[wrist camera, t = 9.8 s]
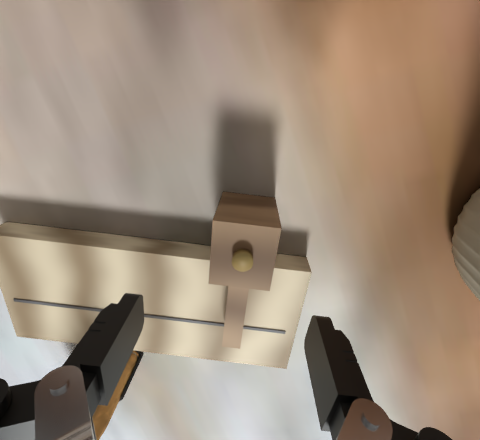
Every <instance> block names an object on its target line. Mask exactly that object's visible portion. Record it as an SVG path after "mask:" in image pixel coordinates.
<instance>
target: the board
mask: <svg viewBox="0 0 480 440" xmlns="http://www.w3.org/2000/svg"><path fill="white" fill-rule="evenodd" d="M210 253H211V246H208V245H199V244H191V243H182V242H174V241H165V240H157V239H148V238H140V237H131V236H123V235H114V234H106V233H97V232H89V231H81V230H72V229H64V228H55V227H47V226H38V225H30V224H21V223H13V222H5V223H3V224H1V225H0V287H1V290H2V293H3V296H4V299H5V302H6V305H7V308H8V311H9V314H10V317H11V320H12V323H13V326H14V329H15V332H16V335H17V336H18V337H27V338H35V339H43V340H52V341H60V342H68V343H77V344H78V343H79V342H80V340H81V339H82V337H83V336H84V335H85V333H86V332H87V331H88V329H89V327H90V326H91V324H92V323H94V320H95V319H96V317H97V316H98V314H99V313H100V311H102V310H103V309H104V308H105V307H107V306H108V305H109V304H111V303H114V304H118V303H119V301H120V300H121V298H122V296H123V295H124V294H125V293H131V294H140V295H143V303H144V325H143V329H142V332H141V334H140V336H139V338H138V341H137V343H136V345H135V347H134V349H133V350H135V351H143V352H151V353H160V354H168V355H176V356H185V357H193V358H201V359H210V360H218V361H226V362H235V363H243V364H251V365H259V366H268V367H276V368H284V369H286V368H287V364H288V360H289V357H290V353H291V349H292V345H293V341H294V338H295V334H296V330H297V326H298V322H299V318H300V315H301V311H302V307H303V303H304V299H305V295H306V292H307V288H308V284H309V280H310V276H311V273H312V272H311V269H310V266H309V263H308V260H307V257H301V256H293V255H284V254H277V255H276V261H275V266H274V271H273V276H272V282H271V287H270V291H264V290H255V289H249V292H248V299H247V305H246V312H245V319H244V326H243V333H242V339H241V346H240V349H238V348H230V347H222V341H223V331H224V322H225V313H226V303H227V294H228V286H222V285H213V284H208V282H209V268H210Z"/></svg>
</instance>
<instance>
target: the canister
mask: <svg viewBox="0 0 480 440" xmlns="http://www.w3.org/2000/svg"><path fill="white" fill-rule="evenodd" d="M452 243H453V246H452V253H453V256H454V262H455V265H456V267H457V269H458V271H459V273H460V275H461V277H462V279H463V280H464V282H465V283H466V285H467V286H468V287H469V288H470V290H471V291H472V292H473V293H474V294H475V296H476V297H477V298H478V299H479V300H480V188H479V189H478V190H477V191H476V192H475V193H474V194H472V195H471V198H470V200H469V201H468V202H467V203H466V204H465V205H464V208H463V210H462V212H461V214H460V215H459V216H458V221H457V224H456V225H455V226H454V235H453V237H452Z"/></svg>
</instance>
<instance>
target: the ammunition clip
mask: <svg viewBox="0 0 480 440" xmlns="http://www.w3.org/2000/svg"><path fill="white" fill-rule="evenodd" d="M142 356H143V354H142V353H141V352H140V351H135V350H133V351H132V354H131V356H130V358H129V360H128V362H127V364H126V367H125V369H124V371H123V373H122V375H121V377H120V380H119V382H118V384H117V386H116V388H115V390H114V393H113V395H112V397H111V399H110V401H109V403H108V406H105V405H98V406H97V408H96V410H95V412H94V414H93V416H92V418H93V423H94V429H95V434H96V440H99V439H100V437H101V436H102V434H103V433H104V431H105V429H106V427H107V425H108V423H109V421H110V419H111V417H112V415H113V413H114V410H115V408H116V406H117V404H118V402H119V401H120V400H122V399H123V397H124V395H125V393H126V391H127V389H128V387H129V384H130V382H131V380H132V378H133V376H134V374H135V371H136V369H137V367H138V365H139V363H140V361H141V358H142Z"/></svg>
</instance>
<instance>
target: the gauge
mask: <svg viewBox="0 0 480 440" xmlns="http://www.w3.org/2000/svg"><path fill="white" fill-rule="evenodd" d="M281 229H282V228H281V223H280V219H279V214H278V209H277V205H276V200H275V198H274V197H266V196H257V195H249V194H240V193H231V192H223V193H222V196H221V199H220V202H219V204H218V207H217V210H216V213H215V215H214V218H213V223H212V238H211V253H210V268H209V282H208V284H213V285H222V286H228V294H227V303H226V313H225V322H224V331H223V341H222V347H230V348H238V349H240V346H241V339H242V333H243V326H244V319H245V312H246V305H247V299H248V292H249V289H255V290H264V291H270V287H271V282H272V276H273V271H274V266H275V261H276V255H277V250H278V245H279V239H280V234H281Z"/></svg>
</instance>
